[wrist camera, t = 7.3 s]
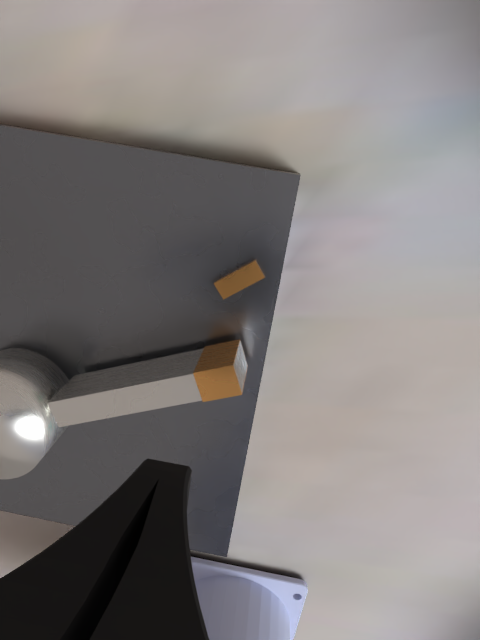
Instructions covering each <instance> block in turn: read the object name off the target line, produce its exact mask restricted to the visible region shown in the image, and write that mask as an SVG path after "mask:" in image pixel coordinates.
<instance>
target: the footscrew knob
mask: <svg viewBox="0 0 480 640" xmlns="http://www.w3.org/2000/svg"><path fill="white" fill-rule="evenodd" d="M247 368H248V365H247V361H246V358H245V354H244V351H243V347H242V344H241V341H240V339H238V340H233V341H229V342H224V343H219V344H215V345H210V346H205V347H204V348H203V349H198V350H193V351H189V352H184V353H179V354H174V355H170V356H165V357H160V358H155V359H151V360H146V361H141V362H136V363H132V364H127V365H122V366H117V367H113V368H108V369H103V370H99V371H94V372H89V373H84V374H80V375H75V376H73V377H72V378H71V379H70V380H69V379H68V377H67V376H66V374H65V373H64V372H63V371H62V369H61V368H60V367H59V366H57V365H56V364H55V363H54V362H53V361H51V360H50V359H48V358H47V357H45V356H43V355H41V354H39V353H37V352H34V351H31V350H27V349H21V348H9V349H3V350H0V479H13V478H18V477H20V476H23V475H25V474H27V473H29V472H30V471H31V470H32V469H34V468H35V466H36V465H37V464H38V463H39V462H40V460H41V459H42V458H43V457H44V456H45V454H46V453H47V452H48V451H49V449H50V448H51V447H52V446H53V445H54V443H55V442H56V441H57V440H58V438H59V437H60V436H61V435H62V434H63V432H64V431H65V430H66V429H67V427H68V426H69V425H74V424H80V423H85V422H90V421H96V420H101V419H106V418H112V417H117V416H122V415H128V414H133V413H138V412H144V411H149V410H154V409H160V408H165V407H170V406H176V405H181V404H186V403H192V402H197V401H203V402H206V401H212V400H217V399H223V398H228V397H233V396H239V395H242V393H243V388H244V383H245V378H246V373H247Z"/></svg>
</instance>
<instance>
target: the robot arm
mask: <svg viewBox="0 0 480 640" xmlns="http://www.w3.org/2000/svg"><path fill="white" fill-rule="evenodd" d="M191 475H192V470H191V468H190V467H189V466H185V465H180V464H175V463H169V462H164V461H159V460H153V459H146V460H144V461H143V462H142V463H141V465H140V466H139V467H138V468H137V469H136V470H135V471H134V472H133V473H132V474H131V476H130V477H129V478H128V479H127V480H126V481H125V482H124V483H123V484H122V485H121V486H120V487H119V488H118V489H117V490H116V491H115V492H114V493H113V494H111V495H110V496H109V497H108V498H107V499H106V500H105V501H104V502H103V503H102V504H101V505H100V506H99V507H98V508H96V509H95V510H94V511H93V512H92V513H91V514H90V515H88V516H87V517H86V518H85V519H84V520H82V521H81V522H80V523H79V524H78V525H77V526H75V527H74V528H73V529H72V530H70V531H69V532H68V533H67V534H65V535H64V536H63V537H61V538H60V539H59V540H57V541H56V542H55V543H53V544H52V545H51V546H49V547H48V548H46V549H45V550H44V551H42V552H41V553H39V554H38V555H36V556H35V557H33V558H32V559H30V560H29V561H27V562H26V563H24V564H23V565H21V566H20V567H18V568H17V569H15V570H13V571H12V572H10V573H9V574H7V575H5V576H4V577H2V578H0V640H293V639H294V635H295V632H296V629H297V625H298V622H299V619H300V615H301V612H302V609H303V605H304V602H305V598H306V595H307V583H306V582H305V581H304V580H301V579H297V578H292V577H287V576H283V575H278V574H273V573H268V572H263V571H258V570H254V569H249V568H244V567H239V566H234V565H229V564H225V563H220V562H215V561H210V560H205V559H201V558H196V557H191V556H190V548H189V539H188V525H187V507H188V499H189V491H190V483H191Z"/></svg>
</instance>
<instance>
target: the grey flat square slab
mask: <svg viewBox="0 0 480 640" xmlns="http://www.w3.org/2000/svg"><path fill="white" fill-rule="evenodd" d="M299 180H300V174H299V173H293V172H287V171H281V170H275V169H269V168H263V167H257V166H251V165H245V164H239V163H232V162H226V161H220V160H214V159H208V158H202V157H196V156H190V155H184V154H178V153H172V152H166V151H160V150H154V149H148V148H142V147H136V146H130V145H124V144H118V143H112V142H106V141H100V140H94V139H88V138H82V137H76V136H70V135H64V134H58V133H52V132H46V131H40V130H34V129H28V128H22V127H15V126H9V125H3V124H0V350H3V349H9V348H21V349H27V350H31V351H34V352H37V353H39V354H41V355H43V356H45V357H47V358H48V359H50V360H51V361H53V362H54V363H55V364H56V365H57V366H59V367H60V368H61V369H62V371H63V372H64V373H65V374H66V376H67V377H68V379H69V380H70V379H71V378H72V377H73V376H75V375H80V374H84V373H89V372H94V371H99V370H103V369H108V368H113V367H117V366H122V365H127V364H132V363H136V362H141V361H146V360H151V359H155V358H160V357H165V356H170V355H174V354H179V353H184V352H189V351H193V350H198V349H203V348H204V347H205V346H210V345H215V344H219V343H224V342H229V341H233V340H238V339H240V341H241V344H242V347H243V351H244V354H245V358H246V361H247V365H248V368H247V373H246V378H245V383H244V388H243V393H242V395H239V396H233V397H228V398H223V399H217V400H212V401H206V402H203V401H197V402H192V403H186V404H181V405H176V406H170V407H165V408H160V409H154V410H149V411H144V412H138V413H133V414H128V415H122V416H117V417H112V418H106V419H101V420H96V421H90V422H85V423H80V424H74V425H69V426H68V427H67V429H66V430H65V431H64V432H63V434H62V435H61V436H60V437H59V438H58V440H57V441H56V442H55V443H54V445H53V446H52V447H51V448H50V449H49V451H48V452H47V453H46V454H45V456H44V457H43V458H42V459H41V460H40V462H39V463H38V464H37V465H36V466H35V468H34V469H32V470H31V471H30V472H29V473H27V474H25V475H23V476H20V477H18V478H13V479H0V510H1V511H6V512H11V513H16V514H21V515H25V516H30V517H35V518H40V519H45V520H50V521H54V522H59V523H64V524H69V525H74V526H77V525H78V524H79V523H80V522H81V521H82V520H84V519H85V518H86V517H87V516H88V515H90V514H91V513H92V512H93V511H94V510H95V509H96V508H98V507H99V506H100V505H101V504H102V503H103V502H104V501H105V500H106V499H107V498H108V497H109V496H110V495H111V494H113V493H114V492H115V491H116V490H117V489H118V488H119V487H120V486H121V485H122V484H123V483H124V482H125V481H126V480H127V479H128V478H129V477H130V476H131V474H132V473H133V472H134V471H135V470H136V469H137V468H138V467H139V466H140V465H141V463H142V462H143V461H144V460H146V459H153V460H159V461H164V462H169V463H175V464H180V465H185V466H189V467H190V468H191V470H192V475H191V483H190V491H189V499H188V507H187V525H188V539H189V548H190V550H195V551H200V552H204V553H209V554H214V555H219V556H224V557H227V553H228V547H229V542H230V537H231V532H232V527H233V522H234V516H235V511H236V506H237V501H238V496H239V491H240V485H241V480H242V475H243V470H244V465H245V460H246V454H247V449H248V444H249V439H250V434H251V428H252V423H253V418H254V413H255V408H256V403H257V397H258V392H259V387H260V382H261V377H262V372H263V366H264V361H265V356H266V351H267V346H268V340H269V335H270V330H271V325H272V320H273V315H274V309H275V304H276V299H277V294H278V289H279V284H280V278H281V273H282V268H283V263H284V258H285V252H286V247H287V242H288V237H289V232H290V227H291V221H292V216H293V211H294V206H295V201H296V196H297V190H298V185H299Z"/></svg>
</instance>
